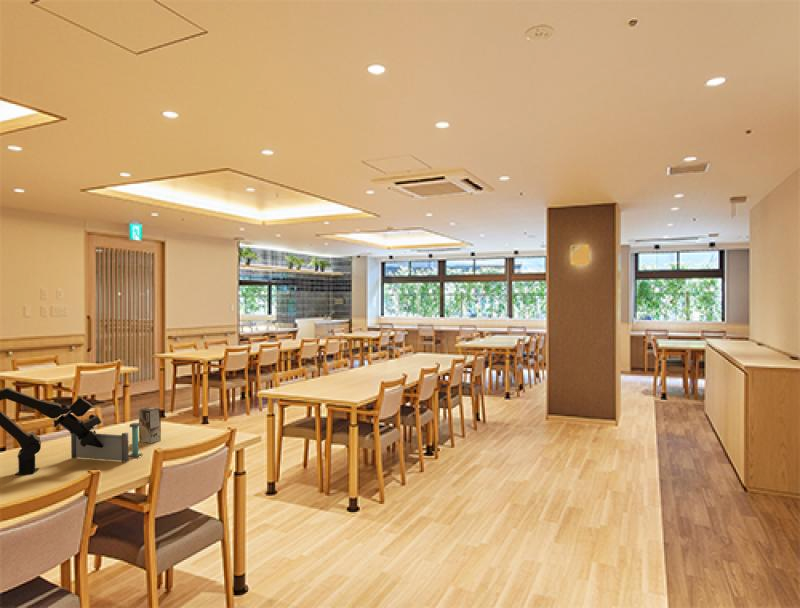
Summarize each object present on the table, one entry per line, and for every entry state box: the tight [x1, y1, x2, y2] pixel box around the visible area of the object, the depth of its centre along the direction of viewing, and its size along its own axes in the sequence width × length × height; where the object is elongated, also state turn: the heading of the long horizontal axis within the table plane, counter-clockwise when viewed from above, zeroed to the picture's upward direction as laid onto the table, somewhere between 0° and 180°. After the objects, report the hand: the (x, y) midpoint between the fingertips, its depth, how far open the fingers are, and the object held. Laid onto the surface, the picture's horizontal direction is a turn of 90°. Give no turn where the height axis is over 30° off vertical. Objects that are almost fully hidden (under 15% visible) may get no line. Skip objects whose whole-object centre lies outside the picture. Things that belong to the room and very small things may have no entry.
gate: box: [70, 432, 130, 462], centre depth 235 cm, size 29×3×13 cm, turn 78°
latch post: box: [129, 422, 143, 458], centre depth 240 cm, size 5×3×15 cm, turn 87°
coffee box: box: [138, 406, 162, 444], centre depth 266 cm, size 9×6×16 cm
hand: (102, 446), depth 234 cm, fingers closed
